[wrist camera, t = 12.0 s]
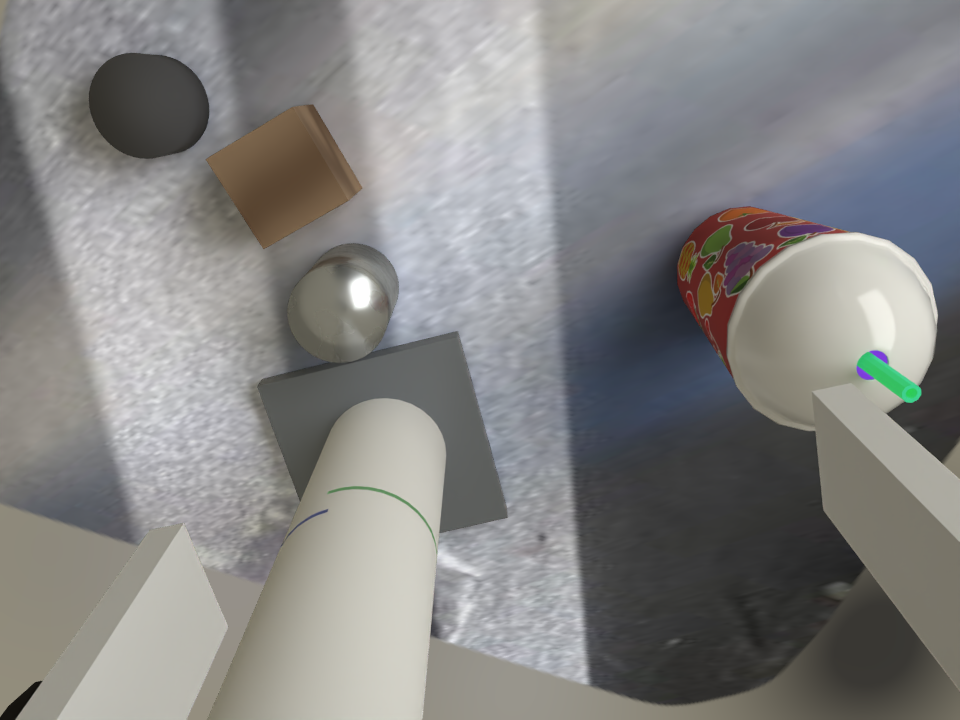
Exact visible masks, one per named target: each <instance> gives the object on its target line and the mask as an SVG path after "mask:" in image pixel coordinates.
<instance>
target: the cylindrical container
mask: <svg viewBox="0 0 960 720" xmlns="http://www.w3.org/2000/svg"><path fill="white" fill-rule="evenodd" d="M445 464H446V446H445V442H444V439H443V435H442V433H441V431H440V430H439V428H438V426H437V424H436V423H435V422H434V421H433V420H432V418H431V417H430V416H429V415H427V414H426V413H425V412H424V411H423V410H421V409H420V408H418V407H416V406H414V405H412V404H410V403H407V402H404V401H401V400H397V399H390V398H379V399H371V400H367V401H363V402H361V403H359V404H357V405H354V406H352V407H351V408H350V409H348V410H347V411H345V412H344V413H343V414H342V415H341V416H340V417H339V418H338V419H337V421H336V422H335V424H334V426H333V427H332V429H331V431H330V433H329V436H328V438H327V440H326V443H325V445H324V447H323V450H322V452H321V454H320V457H319V459H318V462H317V464H316V466H315V469H314V471H313V473H312V476H311V478H310V480H309V483H308V485H307V487H306V490H305V492H304V494H303V497H302V499H301V501H300V504H299V506H298V508H297V511H296V513H295V515H294V518H293V520H292V522H291V525H290V527H289V529H288V532H287V534H286V536H285V539H284V541H283V543H282V546H281V548H280V550H279V553H278V555H277V557H276V560H275V562H274V564H273V567H272V569H271V571H270V574H269V576H268V578H267V581H266V583H265V586H264V588H263V590H262V593H261V595H260V597H259V600H258V602H257V604H256V607H255V609H254V611H253V614H252V616H251V619H250V621H249V623H248V626H247V628H246V631H245V633H244V635H243V638H242V640H241V642H240V645H239V647H238V649H237V652H236V654H235V656H234V658H233V661H232V663H231V665H230V668H229V670H228V673H227V675H226V677H225V679H224V682H223V684H222V687H221V689H220V691H219V693H218V696H217V698H216V700H215V703H214V706H213V707H212V710H211V712H210V714H209V717H208V719H207V720H422V718H423V708H424V696H425V685H426V674H427V663H428V652H429V651H428V650H429V641H430V629H431V618H432V607H433V596H434V585H435V574H436V563H437V552H438V541H439V530H440V519H441V508H442V497H443V486H444V475H445Z"/></svg>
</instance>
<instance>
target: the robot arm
mask: <svg viewBox="0 0 960 720" xmlns="http://www.w3.org/2000/svg"><path fill="white" fill-rule="evenodd" d="M812 400H813V410H814V420H815V430H816V440H817V450H818V460H819V471H820V481H821V491H822V501H823V510H824V511H825V513H826V514H827V515H828V517H829V518H830V519H831V521H832V522H833V523H834V525H835V526H836V527H837V529H838V530H839V531H840V533H841V534H842V535H843V537H844V538H845V539H846V541H847V542H848V543H849V545H850V546H851V547H852V549H853V550H854V551H855V553H856V554H857V555H858V557H859V558H860V559H861V561H862V562H863V563H864V565H865V566H866V567H867V569H868V570H869V571H870V573H871V574H872V575H873V576H874V578H875V579H876V581H877V582H878V583H879V584H880V586H881V587H882V588H883V590H884V591H885V592H886V594H887V595H888V596H889V598H890V599H891V601H892V602H893V603H894V604H895V606H896V607H897V608H898V610H899V611H900V613H901V614H902V615H903V617H904V618H905V619H906V620H907V622H908V623H909V625H910V626H911V627H912V629H913V630H914V631H915V632H916V634H917V635H918V636H919V638H920V639H921V641H922V642H923V643H924V644H925V646H926V647H927V648H928V650H929V651H930V653H931V654H932V655H933V657H934V658H935V659H936V661H937V662H938V663H939V664H940V666H941V667H942V668H943V670H944V671H945V672H946V674H947V675H948V676H949V678H950V679H951V680H952V682H953V683H954V684H955V686H956V687H957V688H958V690H959V691H960V479H959V478H958V477H957V476H955V475H954V474H953V473H952V472H951V471H950V470H949V469H947V468H946V467H945V466H944V465H943V464H942V463H941V462H940V461H939V460H937V459H936V458H935V457H934V456H933V455H932V454H931V453H929V452H928V451H927V450H926V449H925V448H924V447H923V446H922V445H920V444H919V443H918V442H917V441H916V440H915V439H914V438H913V437H911V436H910V435H909V434H908V433H907V432H906V431H905V430H903V429H902V428H901V427H900V426H899V425H898V424H897V423H896V422H894V421H893V420H892V419H891V418H890V417H889V416H888V415H887V414H885V413H884V412H883V411H882V410H881V409H880V408H879V407H878V406H876V405H875V404H874V403H873V402H872V401H871V400H870V399H868V398H867V397H866V396H865V395H864V394H863V393H862V392H861V391H859V390H858V389H857V388H856V387H855V386H854V385H853V384H852V383H849V384H844V385H839V386H835V387H830V388H825V389H820V390H816V391H812ZM227 629H228V626H227V623H226V621H225V618H224V616H223V614H222V611H221V609H220V607H219V604H218V602H217V599H216V597H215V595H214V593H213V590H212V588H211V585H210V583H209V581H208V579H207V576H206V574H205V571H204V569H203V567H202V564H201V562H200V560H199V557H198V555H197V553H196V550H195V548H194V546H193V543H192V541H191V538H190V536H189V534H188V531H187V529H186V527H185V524H184V523H181V524H176V525H172V526H167V527H162V528H157V529H153V530H150V531H149V532H148V533H147V535H146V536H145V538H144V539H143V540H142V542H141V543H140V545H139V546H138V547H137V549H136V550H135V552H134V553H133V555H132V556H131V557H130V559H129V560H128V562H127V563H126V564H125V566H124V567H123V569H122V570H121V571H120V573H119V574H118V576H117V577H116V579H115V580H114V581H113V583H112V584H111V586H110V587H109V588H108V590H107V591H106V593H105V594H104V595H103V597H102V598H101V600H100V601H99V603H98V604H97V605H96V607H95V608H94V610H93V611H92V612H91V614H90V615H89V617H88V618H87V619H86V621H85V622H84V624H83V625H82V626H81V628H80V629H79V631H78V632H77V634H76V635H75V636H74V638H73V639H72V641H71V642H70V643H69V645H68V646H67V648H66V649H65V651H64V652H63V653H62V655H61V656H60V657H59V659H58V660H57V662H56V663H55V665H54V666H53V667H52V669H51V670H50V672H49V673H48V674H47V676H46V677H45V679H44V680H43V681H39V682H35V683H34V684H33V685H32V686H30V687H29V688H28V689H27V690H26V691H25V692H24V693H23V694H21V695H20V696H19V697H18V698H17V699H16V700H15V701H14V702H13V703H11V704H10V705H9V706H8V707H7V709H6V710H5V711H4V713H3V714H2V716H1V717H0V720H187V717H188V715H189V713H190V711H191V708H192V706H193V704H194V702H195V700H196V697H197V695H198V693H199V691H200V689H201V686H202V684H203V682H204V680H205V677H206V675H207V673H208V671H209V669H210V666H211V664H212V662H213V660H214V658H215V655H216V653H217V651H218V649H219V646H220V644H221V642H222V640H223V637H224V635H225V633H226V631H227Z"/></svg>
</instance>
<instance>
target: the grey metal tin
mask: <svg viewBox="0 0 960 720" xmlns="http://www.w3.org/2000/svg"><path fill="white" fill-rule="evenodd" d="M398 294H399V282H398V277H397V274H396V271H395V269H394V267H393V266H392V264H391V263H390V261H389V260H388V259H387V258H386V257H385V256H384V255H383V254H382V253H380V252H379V251H377V250H376V249H374V248H372V247H369V246H367V245H363V244H356V243H351V244H343V245H340V246H337V247H335V248H333V249H331V250H329V251H328V252H326V253H325V254H324V255H323V256H322V257H321V258H320V259H319V260H318V261H317V263H316V264H315V265H314V266H313V267H312V268H311V269H310V270H309V271H308V272H307V273H306V275H305V276H304V277H303V278H302V279H301V280H300V281H299V282H298V284H297V285H296V286H295V288H294V289H293V291H292V293H291V295H290V298H289V302H288V308H287V316H288V322H289V326H290V329H291V331H292V333H293V335H294V337H295V339H296V340H297V341H298V343H299V344H300V345H301V346H302V347H303V348H304V349H305V350H306V351H308V352H309V353H310V354H312V355H313V356H315V357H317V358H319V359H322V360H325V361H329V362H335V363H346V362H352V361H355V360H358V359H360V358H363V357H365V356H366V355H368V354H369V353H370V352H372V351H373V350H374V349H375V348H376V347H377V346H378V344H379V343H380V341H381V340H382V338H383V336H384V333H385V331H386V328H387V326H388V323H389V320H390V318H391V315H392V313H393V310H394V307H395V305H396V302H397V299H398Z"/></svg>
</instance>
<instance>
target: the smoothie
mask: <svg viewBox="0 0 960 720" xmlns="http://www.w3.org/2000/svg"><path fill="white" fill-rule="evenodd" d="M677 285H678V287H679V290H680V293H681V295H682V298H683V301H684V302H685V304H686V305H687V307H688V309H689V310H690V312H691V313H692V315H693V316H694V318H695V319H696V321H697V323H698V324H699V326H700V327H701V329H702V330H703V332H704V333H705V335H706V337H707V338H708V340H709V341H710V343H711V344H712V346H713V347H714V349H715V351H716V352H717V354H718V355H719V357H720V358H721V360H722V361H723V363H724V365H725V366H726V368H727V369H728V371H729V372H730V374H731V375H732V377H733V378H734V381H735V384H736V386H737V388H738V389H739V390H740V391H741V393H742V394H743V395H744V397H745V398H746V399H747V400H748V402H749V403H750V404H751V405H752V407H753V408H754V409H755V410H757V411H759V412H760V413H762V414H763V415H765V416H766V417H768V418H770V419H771V420H773V421H774V422H776V423H777V424H780V425H784V426H788V427H793V428H797V429H801V430H805V431H816V430H815V420H814V410H813V400H812V391H816V390H820V389H825V388H830V387H835V386H839V385H844V384H849V383H852V384H853V385H854V386H855V387H856V388H857V389H858V390H859V391H861V392H862V393H863V394H864V395H865V396H866V397H867V398H868V399H870V400H871V401H872V402H873V403H874V404H875V405H876V406H878V407H879V408H880V409H881V410H882V411H883V412H884V413H885V414H886V413H888V412H889V411H891V410H892V409H894V408H895V407H897V406H898V405H900V404H901V403H903V402H904V401H905V402H911V403H912V402H914V401H916V400H918V399H919V397H920V396H921V389H920V388H919V387H918V386H919V384H920V383H921V382H922V380H923V378H924V376H925V374H926V372H927V369H928V367H929V365H930V363H931V361H932V359H933V357H934V351H935V343H936V335H937V327H936V325H937V317H938V312H937V308H936V303H935V298H934V294H933V289H932V284H931V283H930V281H929V280H928V278H927V277H926V275H925V274H924V272H923V271H922V269H921V268H920V266H919V265H918V263H917V262H916V260H915V259H914V258H913V257H911V256H910V255H909V254H907V253H906V252H904V251H903V250H902V249H900V248H899V247H897V246H896V245H895V244H893V243H892V242H890V241H889V240H885V239H881V238H877V237H873V236H870V235H866V234H862V233H858V232H848V231H844V230H840V229H836V228H832V227H828V226H825V225H821V224H817V223H813V222H809V221H805V220H801V219H797V218H793V217H790V216H786V215H782V214H778V213H774V212H770V211H767V210H763V209H758V208H754V207H750V206H749V207H739V208H730V209H727V210H725V211H722V212H720V213H717V214H715V215H713V216H710V217H709V218H708V219H707V220H705V221H704V222H703V223H702V224H701V225H699V226H698V227H697V228H696V229H695V230H694V231H693V232H692V234H691V235H690V237H689V238H688V240H687V241H686V243H685V244H684V246H683V248H682V251H681V254H680V258H679V261H678V264H677Z"/></svg>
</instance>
